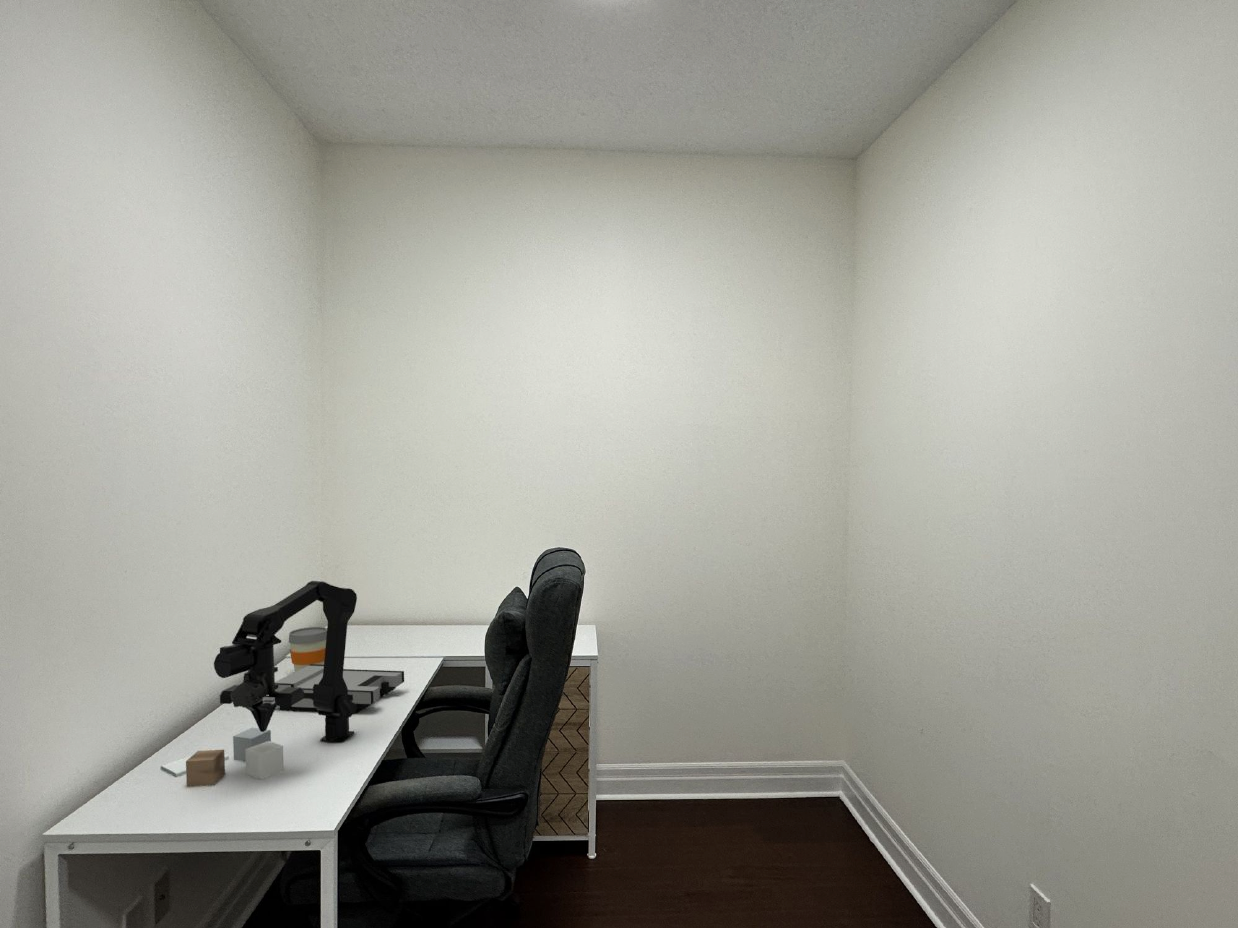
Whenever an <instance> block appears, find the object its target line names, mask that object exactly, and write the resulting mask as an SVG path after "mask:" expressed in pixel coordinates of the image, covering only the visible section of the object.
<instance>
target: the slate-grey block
mask: <svg viewBox="0 0 1238 928" xmlns="http://www.w3.org/2000/svg"><path fill="white" fill-rule="evenodd" d="M271 736H272V732H271V729H266V731H264V732H261V731H260V729H259V727H251V728H249V729H246V730H244V731H241V732H239V733H237V734H234V735H232V745H233V746H232V748H233V760H234V761H240V762H245V763H246V754H245V749H247V748H250V747H253V746H256V745H259V744H261V743H264V742H267V741H271V742H272V737H271Z"/></svg>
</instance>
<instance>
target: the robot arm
mask: <svg viewBox="0 0 1238 928" xmlns="http://www.w3.org/2000/svg"><path fill="white" fill-rule="evenodd" d="M317 601H318V602H319V603H320V602H321V603H322V611H323V614H324V616H325V618H326V621H327V627H326V628H327V637H326V648H325V658H324V669H323V677H322V679H321V680H320V682H319V683H318V684H314V686H313V696H312V699H311V700H313V705H314V707H315V708H316V709H317V712H316V713H317V714H318V716H324V717H325V718H324V729H325V730H324V732H325V733H324V734H325V735H324V736H323V737H321V738H320V739H319V740H320V742H331V743H333V742H334V743H344V742H345V741H346V740H348V739H349V738H350V737H353V735H355V733H356V732H355V730H354V731H353V730H352V731H351V730H350V718H351V717H352V716H353V715H356V714H355V712H356V707H357V705H356V704H354V703H353V702H352V701H351V700H350V699H348V688H347V685H346V683H345V681H344V679H343V669H344V668H345V667H344V666H345V656H346V655H345V653H346V645H347V634H348V633H347V632H348V623H349V620H350V619H351V618H352V616H353V615H354V613H355V610H356V605H357V601H358V595H357V593H356V592H355V590H354V589H352V588H348V587H339V586H336V585H333V584H330V583H328V582H326V581H322V580H320V581H318V580H311V581H308V582H307V583H306V584H305V585H304V586H302V587H300V588H298V589H297V590H296V591H294V592H293V593H291V594H290V595H288V596H286V597H284V598H283V599H281V600H279V601H278V602H277V603H275V604H274V605H271V606H267V607H263V608H258V609H256V610H254V611H251V612H249V613H247V614H246V615H245V616H243V618H242V622H241V625H240V627H239V628H238V630H237V632H236V634H235V636H234V637H233V640H232V641H231V645H225V646H221V647H220V648H219V653H218V654H217V655H216V656H215V659H214V661H213V667H214V671H215V674H216V675H217V676H218V677H219V678H221V679H226V678H229V677H232V676H236V675H238V674H242V673H243V680H242V682H241V683H240V684H234V685H232V686H230V687H228V688H226V689H224V690H222V691H221V693H220V694H219V703H220V704H224V705H230V704H233V707H234V708H238V707H240V708H245V709H247V710H248V711H250V713H251V714H252V716H253V719H254V721H255V723H256V724H257V728H259V729H260V731H261V732H264V731H266V730H268V726H269V725H270V722H271V719H272V718H273V715H274V712H275V710H276V709H277V707H279V706H292V705H294V704H295V703H297V702H299V701H301V700H302V699H304V691H303V689H302V688H301V687H287V688H285V689H283V690H282V691H280V692H279V691H275V690H276V689H278V684H275V682H276V678H275V677H276V675H275V674H276V673H277V672H278V671H279V668H278V666H275V656H274V653H275V652H274V649H275V648H274V647H275V646H274V645H278V644H280V643H282V640H281V638H279V637H277V636H276V634H277V633H278V632H279V631H280V630H282V628H283V626H284V625H285V622H286V621H288V620H289V619H290V618H292V617H293V616H294V615H296V614H298V613H299V612H302V610H304V609H305V608H307V607H309V606H310V605H312V604H313V603H315V602H317ZM277 705H278V706H277Z"/></svg>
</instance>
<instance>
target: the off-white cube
mask: <svg viewBox="0 0 1238 928" xmlns="http://www.w3.org/2000/svg"><path fill="white" fill-rule="evenodd" d="M245 754H246V762H245V773H246V775H249V776H251V777H253V778H254V779H255V778H256V779H258V780H262V779H265V778H267V777H270V776H273V775H276V774H278V773H280V772H283V771H285V765H284V762H285V761H284V745H283V744H282V745H281V744H279V743H276V742H273V741H272V740H271V741H267V742H264V743H261V744H259V745H256V746H253V747H250V748H247V749H245Z"/></svg>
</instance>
